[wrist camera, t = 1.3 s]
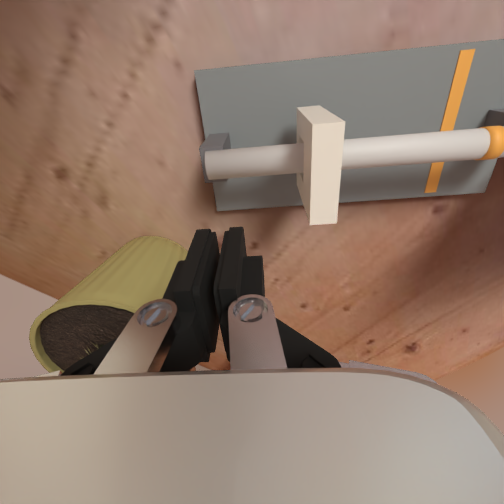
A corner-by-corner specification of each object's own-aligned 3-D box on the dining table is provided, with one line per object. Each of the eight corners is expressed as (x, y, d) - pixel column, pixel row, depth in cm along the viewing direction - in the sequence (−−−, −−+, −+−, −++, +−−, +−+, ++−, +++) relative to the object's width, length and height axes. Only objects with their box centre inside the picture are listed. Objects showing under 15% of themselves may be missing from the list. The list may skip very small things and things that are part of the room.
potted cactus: (141, 196, 34) (-181, 550, 9) (235, 270, 40) (194, 613, 15) (81, 269, 41) (-209, 599, 15) (170, 324, 46) (64, 631, 21)
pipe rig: (197, 70, 27) (174, 71, 20) (529, 36, 25) (640, 24, 18) (218, 206, 35) (207, 243, 27) (476, 187, 33) (538, 222, 26)
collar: (296, 107, 25) (312, 124, 18) (319, 105, 25) (345, 121, 18) (296, 183, 29) (309, 224, 21) (316, 182, 29) (336, 223, 21)
